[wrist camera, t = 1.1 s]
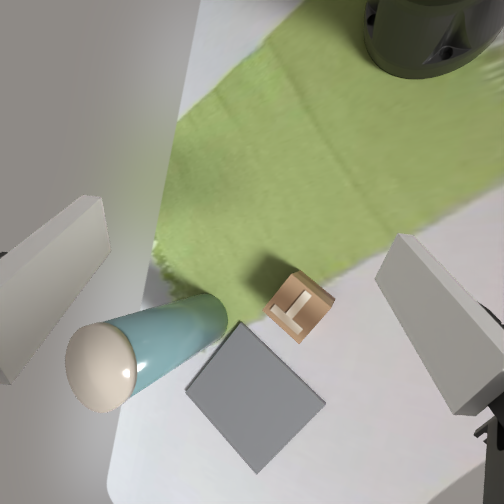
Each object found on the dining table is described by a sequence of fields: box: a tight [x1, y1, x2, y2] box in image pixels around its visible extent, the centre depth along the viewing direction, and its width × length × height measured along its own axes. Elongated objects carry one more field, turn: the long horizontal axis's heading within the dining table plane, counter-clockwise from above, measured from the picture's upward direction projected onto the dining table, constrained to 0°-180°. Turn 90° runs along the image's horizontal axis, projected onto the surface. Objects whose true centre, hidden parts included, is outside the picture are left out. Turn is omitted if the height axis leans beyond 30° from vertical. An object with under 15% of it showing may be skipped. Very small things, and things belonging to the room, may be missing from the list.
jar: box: [65, 294, 228, 413], centre depth 35 cm, size 8×8×20 cm
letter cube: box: [263, 271, 335, 344], centre depth 36 cm, size 6×6×6 cm
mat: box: [185, 322, 326, 475], centre depth 42 cm, size 16×16×1 cm
